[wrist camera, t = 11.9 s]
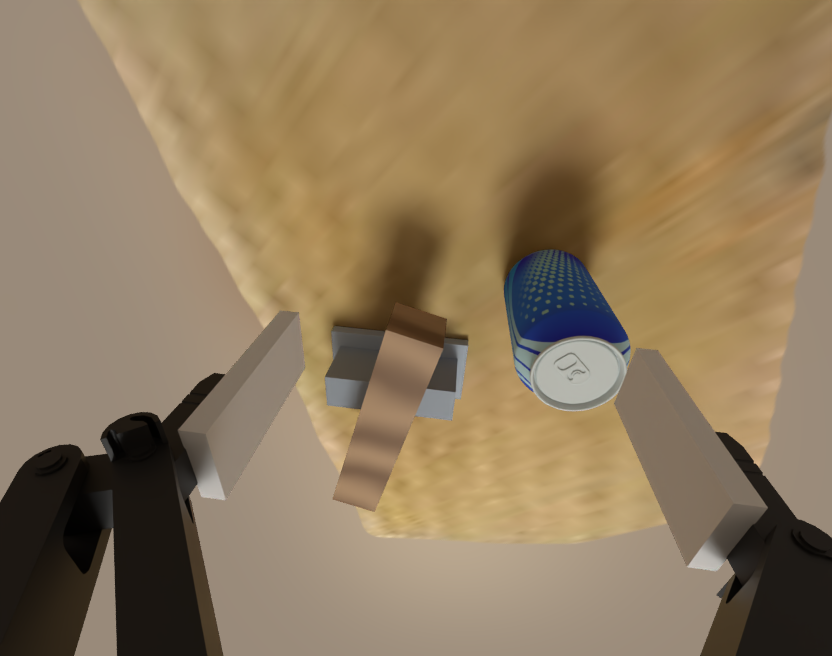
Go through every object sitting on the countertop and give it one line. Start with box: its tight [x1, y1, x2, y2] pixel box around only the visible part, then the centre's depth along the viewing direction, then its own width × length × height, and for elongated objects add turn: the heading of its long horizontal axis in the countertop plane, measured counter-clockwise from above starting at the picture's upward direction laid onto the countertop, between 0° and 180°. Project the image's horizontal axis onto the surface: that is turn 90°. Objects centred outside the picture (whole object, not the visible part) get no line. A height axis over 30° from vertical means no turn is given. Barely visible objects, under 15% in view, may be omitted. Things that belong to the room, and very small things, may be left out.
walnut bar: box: [333, 302, 447, 512], centre depth 42 cm, size 24×5×5 cm, turn 163°
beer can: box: [504, 250, 630, 411], centre depth 35 cm, size 8×8×16 cm
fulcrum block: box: [325, 326, 468, 420], centre depth 47 cm, size 8×16×7 cm, turn 87°
